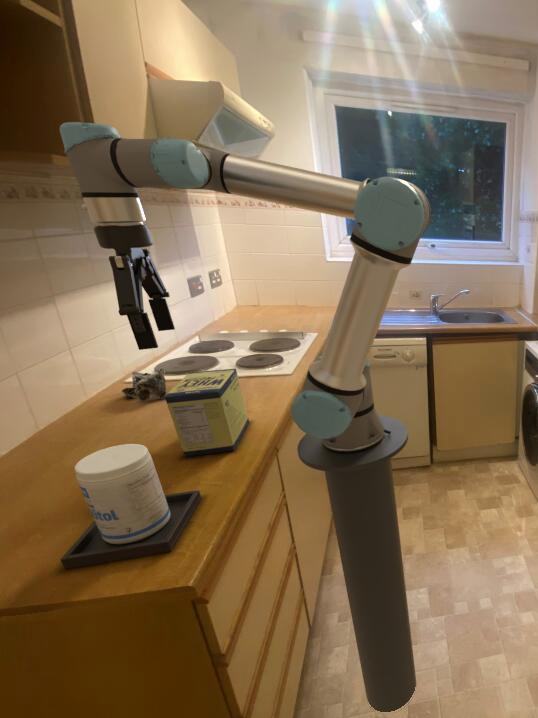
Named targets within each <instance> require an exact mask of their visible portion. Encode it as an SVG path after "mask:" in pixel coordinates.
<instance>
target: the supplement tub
mask: <svg viewBox="0 0 538 718" xmlns="http://www.w3.org/2000/svg"><path fill="white" fill-rule="evenodd" d="M74 472H75V477H76V480H77V483H78V486H79V487H80V490H81V493H82V494H83V497H84V499H85V502H86V505H87V506H88V508H89V509H88V510H89V511H90V514H91V516H92V518H93V521H95V522H96V525H97V527H98V529H99V531H100V533H101V536H102V538H103V539H104V540H105V541H106V542H108V543H111V544H126V543H132V542H136V541H139V540H142V539H144V538H147V537H149V536H151V535H152V534H154V533H156V532H157V531H159V530H160V529H161V528H163V527H164V526H165V525H166V523H167V522H168V521H169V519H170V510H169V507H168V504H167V501H166V498H165V495H166V494H165V493H164V490H163V486H162V484H161V480H160V477H159V475H158V473H157V470H156V466H155V463H154V460H153V458H152V455H151V453H150V452H149V449H148V448H147V446H145V445H142V444H139V443H138V444H137V443H126V444H119V445H114V446H109V447H106V448H101V449H99V450H97V451H95V452H92V453H89V454H88V455H86V456H85V457H83V458H81V459H80V460H79V461H78V462H76V464H75V466H74Z"/></svg>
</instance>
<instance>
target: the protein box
mask: <svg viewBox="0 0 538 718" xmlns="http://www.w3.org/2000/svg"><path fill="white" fill-rule="evenodd" d="M164 400H165V402H166V405H167V408H168V410H169V414H170V417H171V420H172V422H173V426H174V429H175V431H176V435H177V438H178V441H179V444H180V447H181V450H182V453H183V455H184V458H189V457H197V456H204V455H213V454H218V453H219V454H220V453H225V452H234V451H235V450H236V448H237V446H238V445H239V444H240V441H241V439H242V437H243V436H244V434H245V431H246V430H247V428H248V426H249V424H250V418H249V415H248V414H249V413H248V410H247V406H246V403H245V399H244V395H243V391H242V386H241V383H240V379H239V376H238V372H237V368H226V369H213V370H202V371H189V372H188V373H187V374H186V375H185V376H184V377H183V378H182V379H181V380H180V381H179V382H178V383H177V384H176V385H174V387H173V388H172V389H171V390H170V391H168V392H167V393H166V396H165V399H164Z"/></svg>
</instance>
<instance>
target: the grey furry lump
mask: <svg viewBox="0 0 538 718" xmlns="http://www.w3.org/2000/svg"><path fill="white" fill-rule="evenodd" d="M165 373H166V370H165V369H164V368H160V370H158V372H157V373H148V372H145V373H143V372H138V371H137V372H136V371H132V372H131V374H132V376H131V380H132V387H124V388H123V389H121V393H123V394H124V395H125V396H126V397H127V398H129V399H130V398H133V399H136V400H139V401H143V402H144V401H146V400H166V399H165V396H166V395H167V389H166V388H167V387H166V378H165V376H164V374H165Z"/></svg>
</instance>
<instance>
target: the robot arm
mask: <svg viewBox="0 0 538 718" xmlns="http://www.w3.org/2000/svg"><path fill="white" fill-rule="evenodd" d="M59 133H60V137H61V140H62V143H63V146H64V154H65V156H66V157H67V160H68V162H69V165H70V167H71V170H72V172H73V175H74V177H75V180H76V182H77V184H78V187H79V189H80V193H81V197H82V200H83V203H82V205H81V208H82V209H83V210H85V211H87V213H88V216H89V219H90V222H92V223H94V224H96V225H95V226H94V227H93V232H94V234H95V237H96V240H97V243H98V245H99V247H100V248H102V249H104V250H105V249H107V250H112V249H113V250H114V252H115V255H109V256H108V261H109V263H110V267H111V269H112V275H113V281H114V287H115V293H116V299H117V304H118V314H119V316H121V317H122V316H126V318H127V319H128V322H129V325H130V329H131V330H132V334H133V337H134V339H135V342H136V345H137V348H138V350H139V351H142V350H150V349H151V350H153V349H158V348H159V345H158V342H157V339H156V336H155V332H154V330H153V327H152V323H151V321H150V318H149V315H148V312H145V309H144V307H145V306H144V296H143V291H144V292H145V293H146V294H147V296H148V297H149V299H147V300H148V303H149V307H150V309H151V310H150V311H151V314H152V315H153V318H154V319H153V320H154V322H155V325H156V328H157V331H158V332H163V331H164V332H165V331H174V330H176V328H175V325H174V321H173V318H172V315H171V312H170V308H169V306H168V302H167V300H166V298H170V297H171V296H170V295H171V294H170V292H169V291H167V288H166V287H165V285H164V282H163V280H162V278H161V276H160V274H159V271H158V270H157V267H156V265H155V263H154V261H153V259H152V255H151V253H150V251H149V248H148V247H153V244H154V241H153V239H152V236H151V232H150V229H149V226H147V225H146V224H144V222H146V221H147V218H146V215H145V213H144V209H143V206H142V203H141V200H140V197H139V193H138V190H137V188H139V189H142V188H152V189H153V188H154V189H155V188H156V189H180V190H181V189H182V190H184V189H186V190H187V189H189V190H207V191H213V192H218V193H222V194H227V195H234V196H237V197H243V198H249V199H252V200H253V199H254V200H257V201H258V200H259V201H261V202H267V203H272V204H276V205H282V206H287V207H291V208H295V209H296V208H297V209H301V210H306V211H310V212H316V213H320V214H325V215H329V216H334V217H340V218H343V219H349V220H353V221H354V224H353V227H352V230H351V235H350V237H349V242H350V244H351V246H352V248H353V250H354V253H353V257H352V261H351V263H350V266H349V270H348V273H347V276H346V279H345V282H344V285H343V288H342V291H341V295H340V297H339V300H338V302H337V303H338V304H337V306H336V309H335V313H334V316H333V319H332V322H331V325H330V328H329V331H328V334H327V338H326V341H325V344H324V346H323V350H322V353H321V355H320V356H318V357H317V359H316V361H314V362H312V363H311V364H310V365H309V367H308V370H307V373H306V377H305V379H304V382H303V385H302V388H301V390H300V392H299V393H298V394H297V395H296V396H295V398H294V399H293V402H292V404H291V406H290V415H291V418H292V421H293V422H294V423H295V424H296V426H297V427H298V428H299V430H301V431H302V432H303V433H305V435H306V434H308V435H311V436H313V437H317V438H322V442H323V446H324V447H325V449H327V450H328V451H331V452H334V453H341V454H349V453H357V452H361V451H365V450H368V449H370V448H372V447H374V446H376V445H378V444H379V443H380V442H381V441H382V440H383V439H384V437H385V433H388V434H390V433H391V431H388V430H385V429H384V426H383V424H382V422H381V420H380V418H379V416H378V415H379V414H378V412H377V410H376V408H375V402H374V394H373V385H372V378H371V377H372V376H371V364H370V362H369V356H370V353H371V350H372V347H373V345H374V342H375V339H376V336H377V333H378V330H379V328H380V325H381V322H382V319H383V317H384V314H385V312H386V308H387V306H388V303H389V300H390V297H391V295H392V292H393V289H394V286H395V284H396V281H397V278H398V276H399V272H400V271H401V270H402V269H404V268H407V267H410V266H411V264H412V261H413V258H414V256H415V253H416V250H417V248H418V245H419V242H420V240H421V237H422V235H424V234H425V232H427V230H428V228H429V225H430V222H431V219H432V209H431V205H430V202H429V199H428V197H427V196H426V194H425V192H424V191H423V190H422V189H421V188H420V187H418V186H417V185H415V184H414V183H412V182H411V181H407V180H405V179H401V178H399V177H396V176H381V177H378V178H369V177H368V178H366V179H365V180H363V181H358V180H354V179H350V178H344V177H340V176H335V175H330V174H326V173H321V172H316V171H313V170H307V169H304V168H300V167H299V168H298V167H294V166H288V165H284V164H280V163H275V162H271V161H266V160H261V159H257V158H252V157H249V156H243V155H238V154H234V153H228V152H224V151H220V150H217V149H213V148H210V147H209V148H208V147H201V146H196V145H195V144H194V143H193V142H192V141H189V140H187V139H182V138H181V139H177V138H171V137H162V138H123V137H121V135H120V133H119V131H118V130H117V128H116V127H114V126H112V125H109V124H103V123H95V122H81V121H80V122H79V121H69V122H63V123H62V124H61V125H60V126H59Z"/></svg>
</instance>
